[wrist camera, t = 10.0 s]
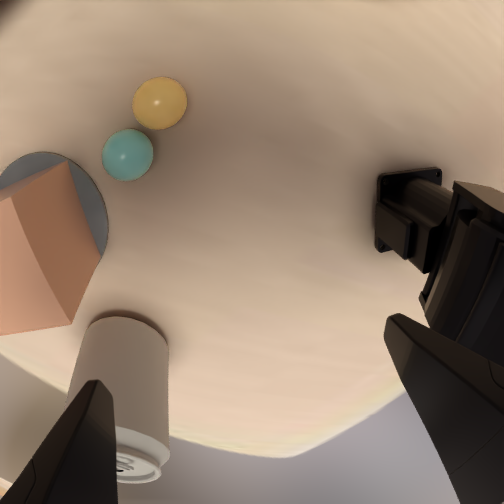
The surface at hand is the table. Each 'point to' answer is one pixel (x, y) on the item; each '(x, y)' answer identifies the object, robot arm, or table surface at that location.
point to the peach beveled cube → (43, 252)
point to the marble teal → (127, 155)
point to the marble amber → (159, 103)
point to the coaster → (83, 185)
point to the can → (130, 391)
